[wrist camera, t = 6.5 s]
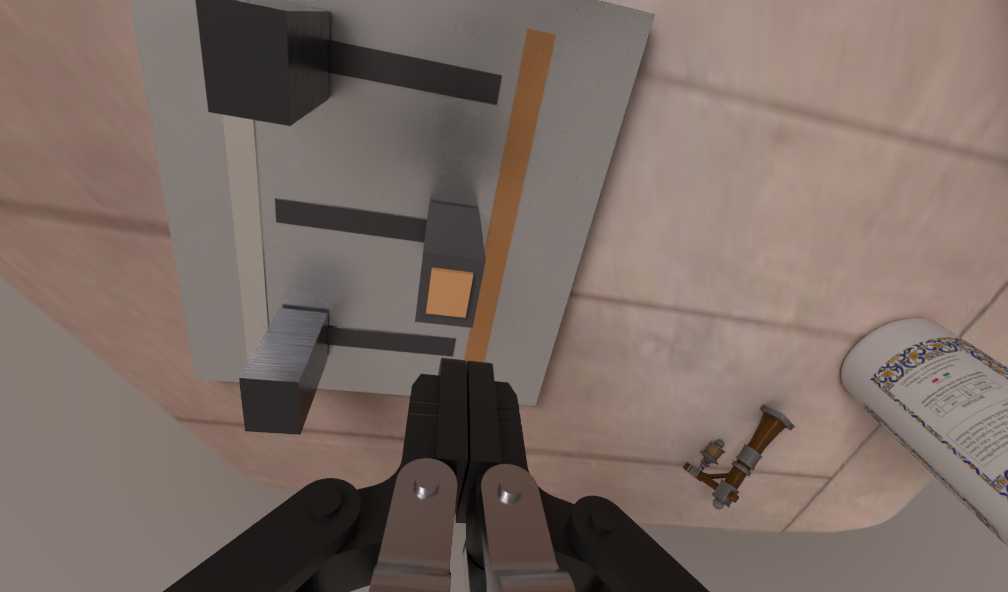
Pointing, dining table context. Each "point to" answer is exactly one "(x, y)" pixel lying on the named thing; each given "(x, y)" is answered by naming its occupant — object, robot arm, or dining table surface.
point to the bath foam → (939, 408)
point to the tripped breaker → (451, 266)
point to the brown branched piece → (739, 458)
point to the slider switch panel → (376, 179)
